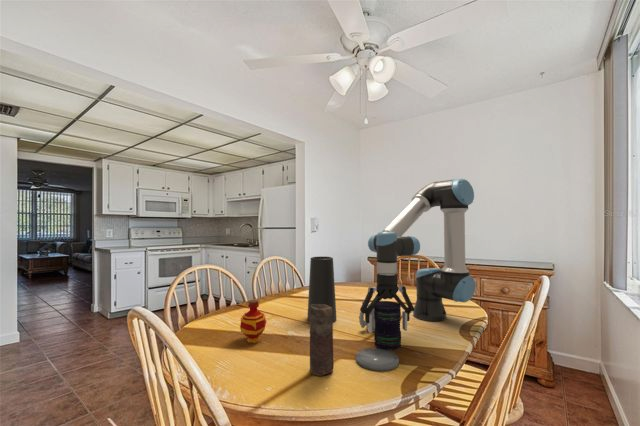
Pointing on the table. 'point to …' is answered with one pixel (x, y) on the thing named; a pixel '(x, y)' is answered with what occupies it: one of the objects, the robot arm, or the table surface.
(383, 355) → the disc
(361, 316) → the mug
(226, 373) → the table surface
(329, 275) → the vase
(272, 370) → the table surface
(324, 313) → the candle
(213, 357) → the table surface
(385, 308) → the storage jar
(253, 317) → the potion bottle
